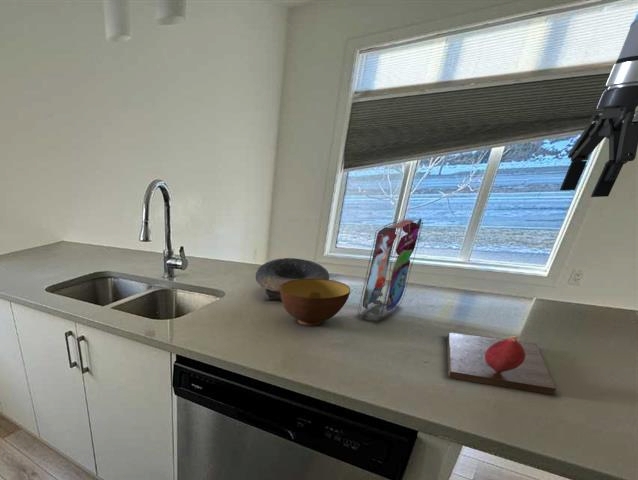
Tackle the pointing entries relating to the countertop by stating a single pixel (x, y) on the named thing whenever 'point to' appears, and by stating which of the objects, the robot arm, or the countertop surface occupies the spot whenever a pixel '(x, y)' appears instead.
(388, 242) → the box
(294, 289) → the bowl
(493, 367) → the onion
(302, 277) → the grinding stone
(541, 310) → the countertop surface
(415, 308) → the countertop surface
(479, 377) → the cutting board
